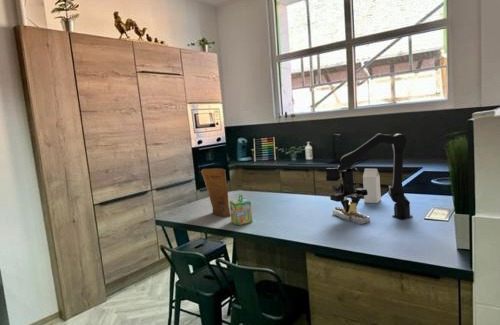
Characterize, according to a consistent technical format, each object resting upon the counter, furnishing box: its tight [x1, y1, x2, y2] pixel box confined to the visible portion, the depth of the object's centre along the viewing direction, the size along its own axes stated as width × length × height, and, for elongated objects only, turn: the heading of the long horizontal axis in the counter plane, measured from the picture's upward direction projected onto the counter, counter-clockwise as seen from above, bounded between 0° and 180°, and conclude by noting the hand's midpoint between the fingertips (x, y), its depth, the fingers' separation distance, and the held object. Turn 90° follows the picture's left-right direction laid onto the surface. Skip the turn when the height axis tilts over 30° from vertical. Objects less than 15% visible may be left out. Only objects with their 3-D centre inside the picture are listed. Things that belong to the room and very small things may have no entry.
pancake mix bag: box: [200, 167, 231, 218], centre depth 195 cm, size 7×19×28 cm, turn 45°
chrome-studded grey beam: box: [332, 206, 371, 225], centre depth 167 cm, size 22×8×3 cm, turn 23°
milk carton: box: [362, 168, 382, 204], centre depth 191 cm, size 7×7×19 cm
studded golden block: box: [342, 200, 358, 216], centre depth 167 cm, size 5×4×7 cm
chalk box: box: [229, 193, 253, 226], centre depth 178 cm, size 9×9×15 cm
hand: (350, 211), depth 167 cm, fingers open, 4 cm apart
